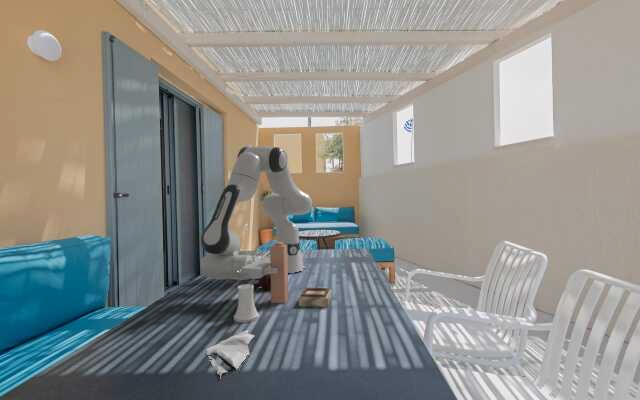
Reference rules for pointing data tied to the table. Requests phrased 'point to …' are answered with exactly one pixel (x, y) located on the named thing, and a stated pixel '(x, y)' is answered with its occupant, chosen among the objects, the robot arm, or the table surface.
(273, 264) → the pillar
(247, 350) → the cloth
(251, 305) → the vase
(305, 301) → the base
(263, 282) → the icecream
